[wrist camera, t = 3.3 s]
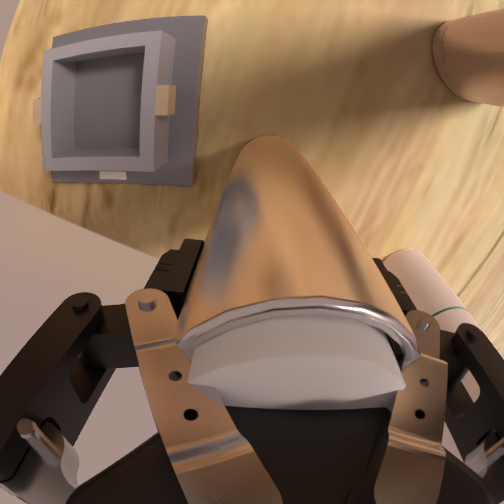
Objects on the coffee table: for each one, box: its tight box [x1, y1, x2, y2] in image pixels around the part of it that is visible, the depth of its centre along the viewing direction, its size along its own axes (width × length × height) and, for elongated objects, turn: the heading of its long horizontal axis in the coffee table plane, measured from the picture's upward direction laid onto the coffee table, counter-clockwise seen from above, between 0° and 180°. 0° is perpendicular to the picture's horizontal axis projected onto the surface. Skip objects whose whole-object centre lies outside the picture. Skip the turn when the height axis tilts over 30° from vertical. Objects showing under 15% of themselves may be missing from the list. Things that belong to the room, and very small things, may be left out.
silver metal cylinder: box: [172, 135, 421, 410], centre depth 17 cm, size 6×6×25 cm
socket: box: [34, 16, 208, 187], centre depth 22 cm, size 16×16×6 cm
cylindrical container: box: [382, 249, 483, 463], centre depth 22 cm, size 7×7×25 cm
